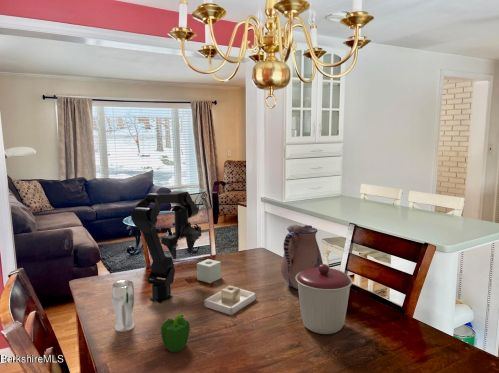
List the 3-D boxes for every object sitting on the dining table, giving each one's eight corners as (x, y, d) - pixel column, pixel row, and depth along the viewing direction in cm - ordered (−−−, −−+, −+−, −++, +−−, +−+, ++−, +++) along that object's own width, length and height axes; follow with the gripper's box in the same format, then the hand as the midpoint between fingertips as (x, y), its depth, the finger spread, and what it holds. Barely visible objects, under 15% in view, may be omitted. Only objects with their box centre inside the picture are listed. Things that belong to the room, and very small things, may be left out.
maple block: (232, 305, 134) (231, 292, 134) (221, 302, 137) (221, 289, 137) (240, 300, 138) (239, 288, 138) (229, 297, 141) (229, 285, 141)
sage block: (210, 283, 157) (209, 266, 156) (197, 279, 161) (196, 263, 161) (221, 278, 163) (220, 261, 162) (208, 274, 168) (208, 258, 167)
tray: (231, 315, 128) (231, 308, 128) (204, 306, 135) (204, 299, 135) (256, 299, 141) (255, 293, 140) (230, 291, 148) (230, 286, 148)
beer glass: (113, 324, 123) (111, 281, 121) (135, 320, 125) (133, 278, 123) (113, 334, 116) (111, 289, 114) (136, 330, 118) (134, 286, 117)
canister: (287, 333, 115) (288, 269, 113) (303, 309, 132) (304, 253, 129) (346, 346, 108) (347, 278, 105) (355, 319, 124) (356, 259, 122)
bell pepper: (161, 357, 103) (160, 324, 102) (161, 342, 111) (160, 311, 110) (191, 353, 105) (190, 320, 104) (189, 338, 113) (188, 308, 112)
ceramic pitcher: (328, 282, 157) (329, 225, 154) (310, 301, 139) (311, 237, 136) (291, 275, 166) (291, 221, 163) (269, 291, 148) (269, 231, 145)
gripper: (178, 227, 142) (180, 265, 144) (210, 218, 157) (211, 253, 159) (159, 223, 148) (161, 260, 150) (191, 216, 164) (192, 249, 165)
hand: (182, 256), depth 156 cm, fingers open, 9 cm apart
